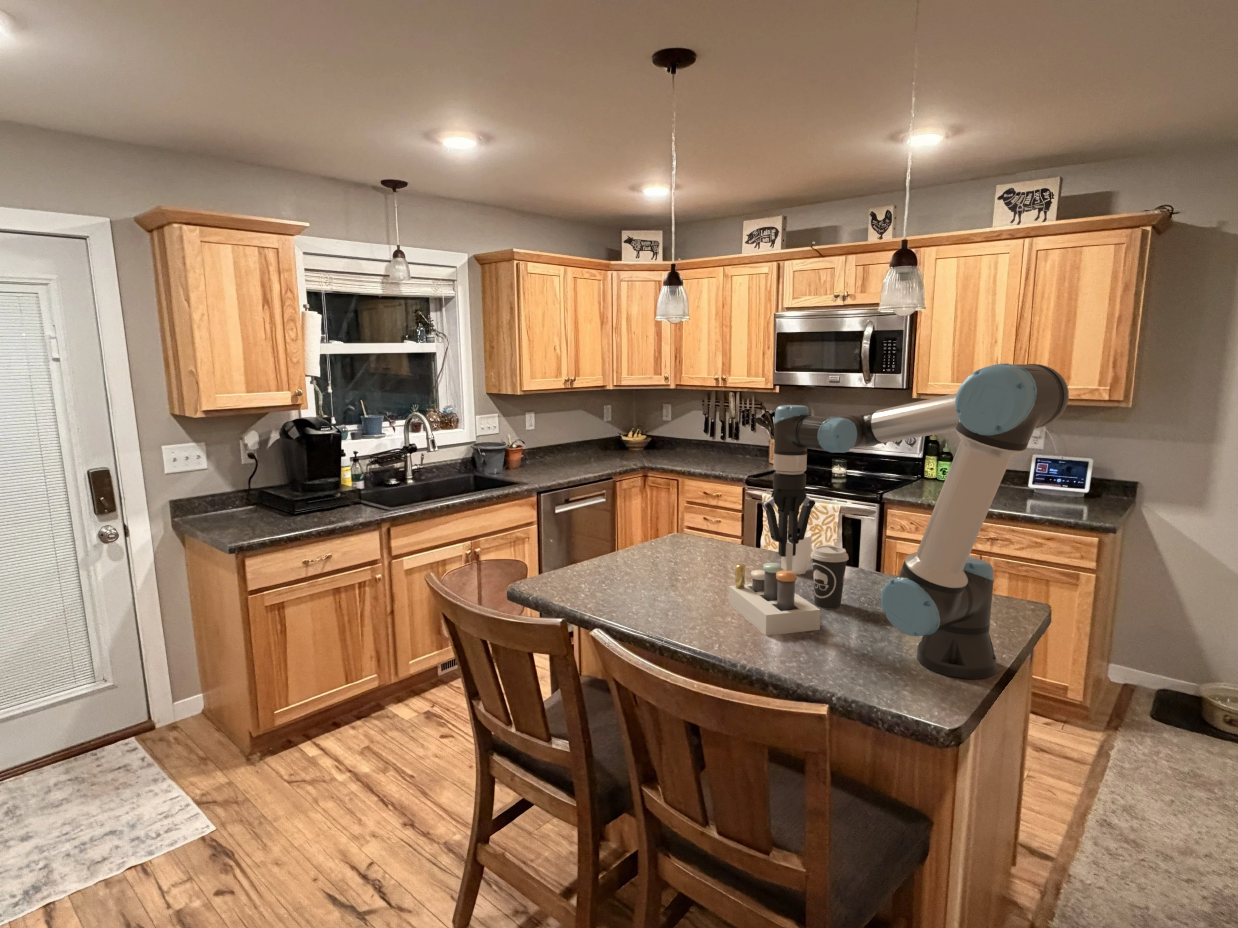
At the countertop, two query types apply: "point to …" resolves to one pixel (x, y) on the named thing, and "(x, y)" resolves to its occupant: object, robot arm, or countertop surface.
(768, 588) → the knob
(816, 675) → the countertop surface
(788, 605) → the knob
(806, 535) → the mug
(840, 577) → the coffee cup
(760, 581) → the knob
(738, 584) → the cylinder
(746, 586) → the panel
